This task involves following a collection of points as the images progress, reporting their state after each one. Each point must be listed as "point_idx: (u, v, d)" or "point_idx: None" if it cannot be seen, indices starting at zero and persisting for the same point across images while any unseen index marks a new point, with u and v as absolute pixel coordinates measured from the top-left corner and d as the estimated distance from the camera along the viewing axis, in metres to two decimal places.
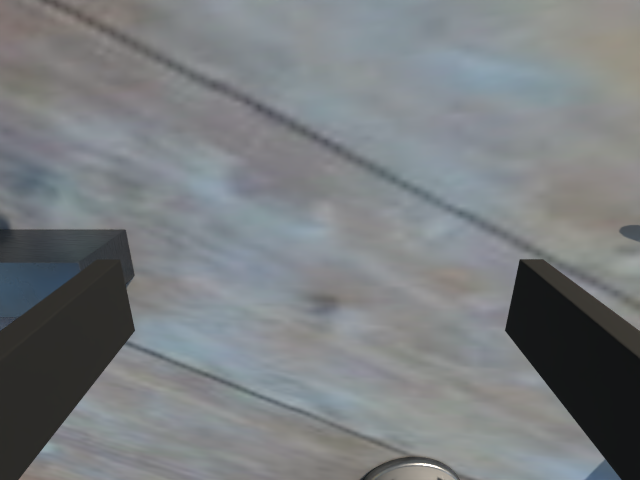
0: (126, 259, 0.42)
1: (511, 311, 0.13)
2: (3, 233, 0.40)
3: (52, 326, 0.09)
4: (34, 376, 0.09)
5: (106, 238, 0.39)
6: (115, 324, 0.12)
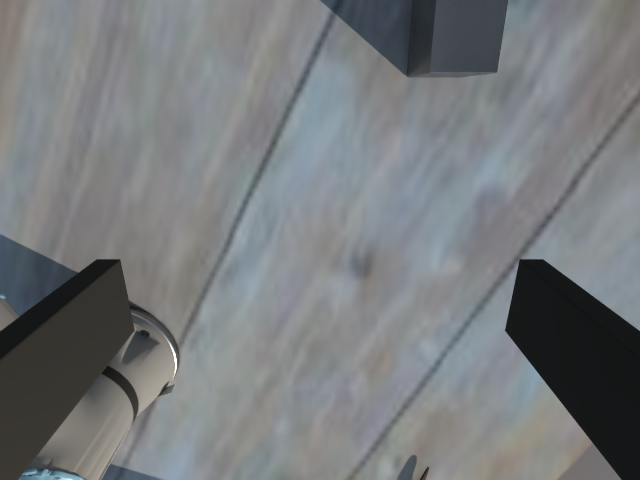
0: None
1: (511, 311, 0.13)
2: None
3: (52, 326, 0.09)
4: (34, 376, 0.09)
5: None
6: (115, 324, 0.12)
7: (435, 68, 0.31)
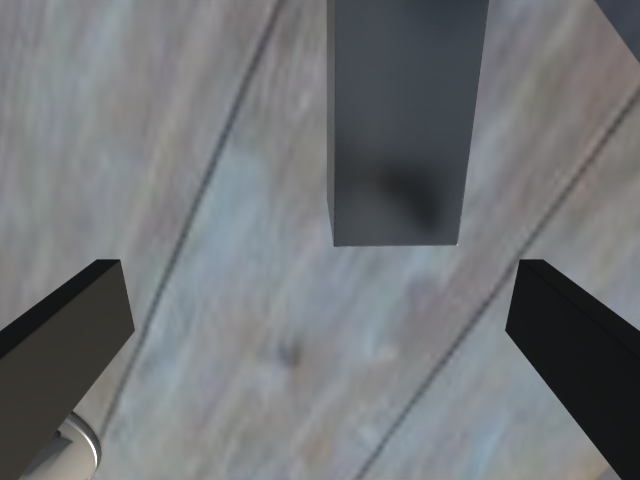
0: None
1: (511, 311, 0.13)
2: None
3: (52, 326, 0.09)
4: (34, 376, 0.09)
5: None
6: (115, 324, 0.12)
7: (344, 240, 0.17)
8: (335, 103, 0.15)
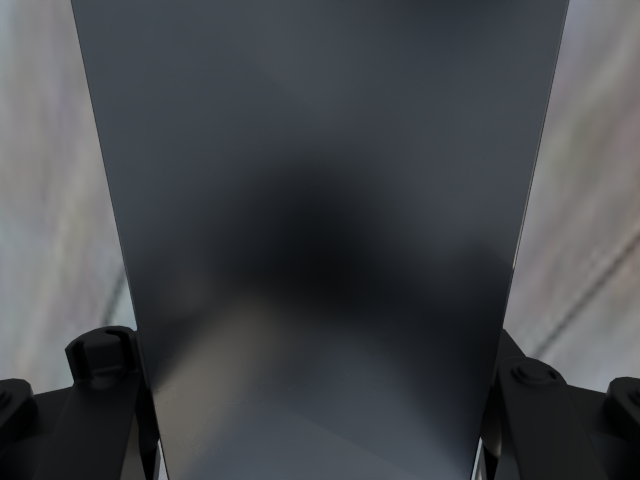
0: None
1: None
2: None
3: None
4: None
5: None
6: None
7: None
8: (148, 367, 0.06)
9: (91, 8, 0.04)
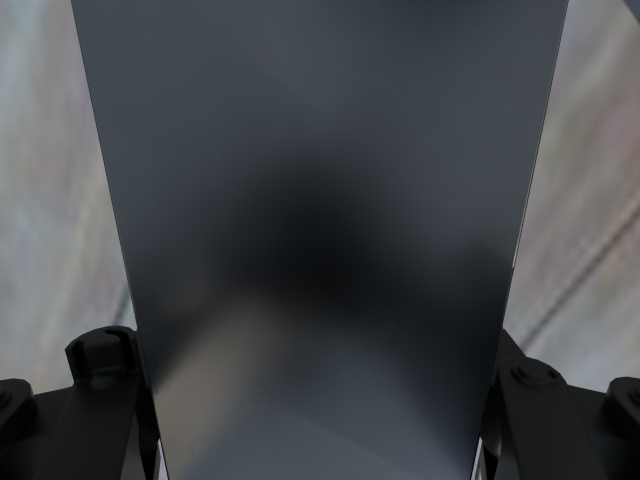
0: None
1: None
2: None
3: None
4: None
5: None
6: None
7: None
8: (148, 366, 0.06)
9: (91, 8, 0.04)
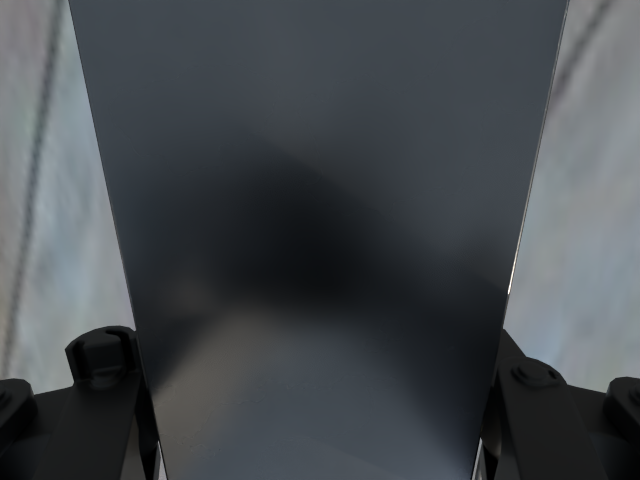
0: None
1: None
2: None
3: None
4: None
5: None
6: None
7: None
8: (146, 366, 0.06)
9: (88, 4, 0.04)
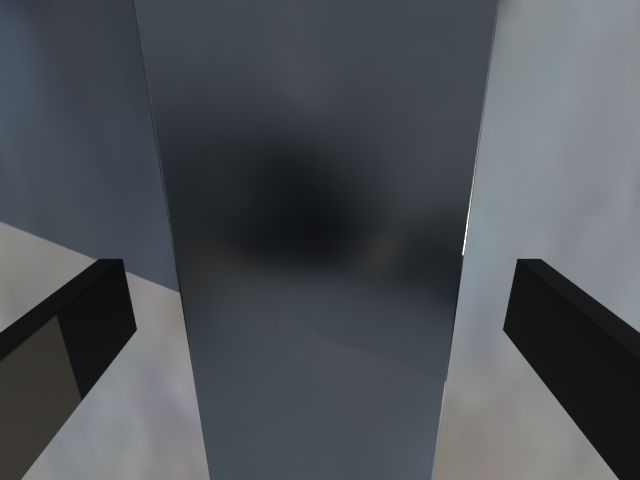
0: None
1: (509, 310, 0.13)
2: None
3: (55, 325, 0.09)
4: (37, 375, 0.09)
5: None
6: (117, 323, 0.12)
7: None
8: (185, 314, 0.08)
9: (153, 42, 0.06)
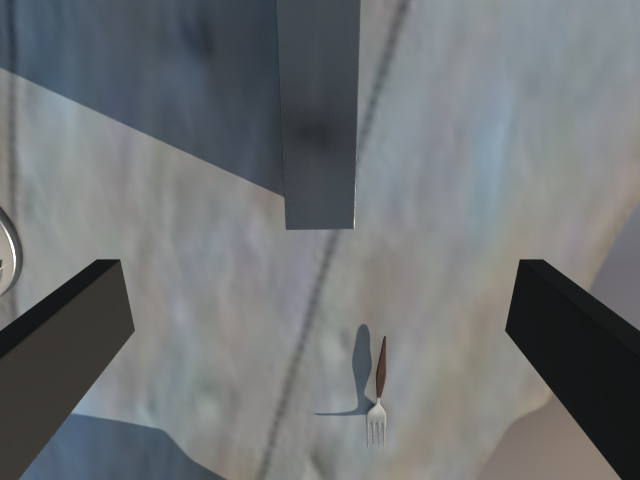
0: None
1: (511, 311, 0.13)
2: None
3: (52, 326, 0.09)
4: (34, 376, 0.09)
5: None
6: (115, 324, 0.12)
7: (291, 226, 0.31)
8: None
9: (282, 82, 0.27)
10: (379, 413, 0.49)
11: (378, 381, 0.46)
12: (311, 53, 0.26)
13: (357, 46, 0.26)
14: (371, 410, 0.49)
